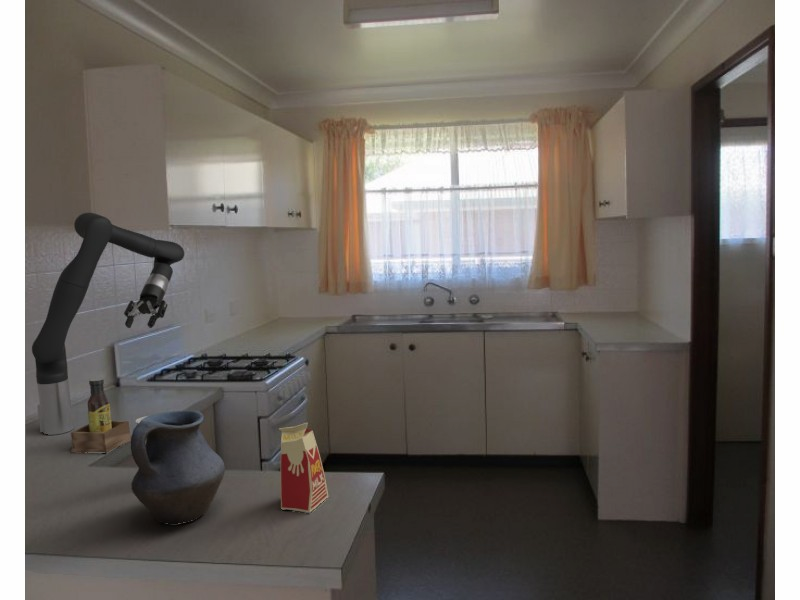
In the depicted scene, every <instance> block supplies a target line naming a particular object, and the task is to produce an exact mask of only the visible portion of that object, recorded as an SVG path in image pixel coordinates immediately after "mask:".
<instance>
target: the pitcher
mask: <svg viewBox="0 0 800 600" xmlns="http://www.w3.org/2000/svg"><path fill="white" fill-rule="evenodd" d="M147 416H148V417H146V418H144V419H142V420H141V421H140V423H139V424H137V423H136V424H137V425H136V426H135V427H134V429H133V430H132V435H131V436H132V437H131V441H130V451H131V456H132V459H133V460H134V461H133V462H134V463H135V464H136V466H137V467H138V470H137V471H136V473H135V474H134V476H133V478H132V481H131V491H132V493H133V494H134V496H135V497H136V498H137V499H138V501H139V503H141V504H142V505H143V506H144V507H145V508H146V509H147V511H148V512H149V513H150V514H151V515H152V516H153V518H154V520H156V521H157V522H159V523H161V522H162V524H163V523H168V524H178V523H183V522H188V521H191V520H194V519H196V518H198V517H200V516H201V515H203V514H204V513H205V514H206V512H207V511H208V509H209V507H210V506H211V503H212V502H213V500H214V499H215V496H216V494H217V491H218V489H220V488H219V487H220V486H221V483H222V481H223V480H224V476H225V472H226V467H225V463H224V460H223V459H222V457H221V456H220V455H219V454H217V453H216V452H215V451H214V450H213V448H211V447H210V445H209V444H208V442H207V441H206V438H205V436H204V435H203V434H202V432H201V430H200V425H202V423H203V422H204V415H203V413H202V412H200V411H198V410H191V409H190V410H188V409H187V410H185V409H184V410H173V411H167V412H158V413H153V414H150V415H147ZM146 438H147V439H146ZM145 441H146V445H145ZM205 514H204V515H205ZM204 515H203V516H204ZM201 517H202V516H201ZM201 517H200V518H201ZM198 519H199V518H198ZM196 520H197V519H196ZM168 524H167V525H168Z"/></svg>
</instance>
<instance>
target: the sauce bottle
mask: <svg viewBox="0 0 800 600" xmlns="http://www.w3.org/2000/svg"><path fill="white" fill-rule="evenodd" d="M104 380H105V379H104V378H102V377H96V378H92V379H89V381H88V385H89V387H90V397H89V398H88V401H87V409H88V410H87V414H88V415H87V416H88V424H89V429H90V432H98V433H104V432H106V431H108V430H110V429H112V424H111V421H112V416H111V415H112V413H111V405H110V401H109V399H108V398H107V395H106V393H105V389H104V387H105V386H104V383H105V382H104Z"/></svg>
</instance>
